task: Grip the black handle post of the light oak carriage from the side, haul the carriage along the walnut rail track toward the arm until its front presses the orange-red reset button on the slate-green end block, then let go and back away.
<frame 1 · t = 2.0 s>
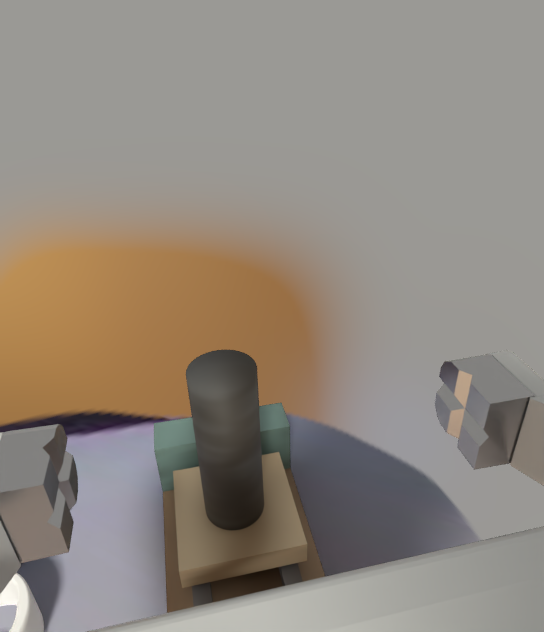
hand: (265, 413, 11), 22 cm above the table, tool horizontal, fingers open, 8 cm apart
carriage: (229, 453, 28), point 9 cm above the table, slide at 13.8 cm
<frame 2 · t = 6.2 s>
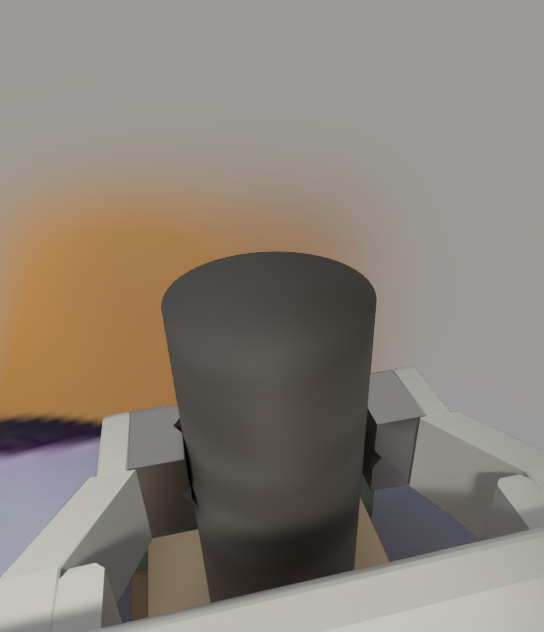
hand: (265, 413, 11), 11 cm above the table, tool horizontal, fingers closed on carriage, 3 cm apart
carriage: (278, 521, 11), point 9 cm above the table, slide at 13.8 cm, touching gripper
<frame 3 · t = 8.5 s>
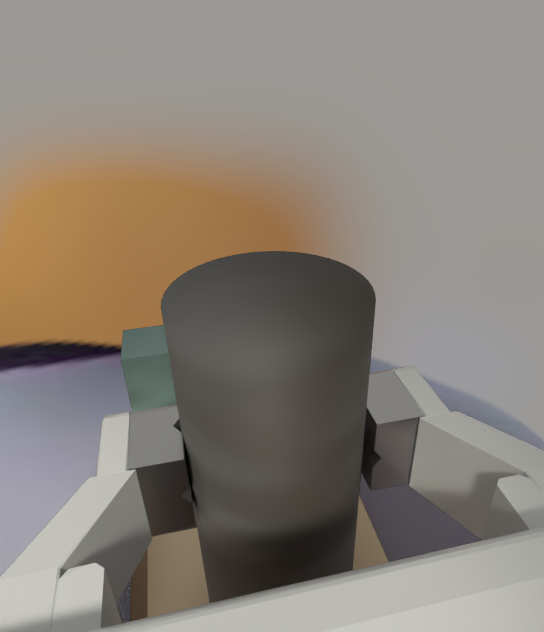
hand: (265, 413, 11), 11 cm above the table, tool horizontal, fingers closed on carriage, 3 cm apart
carriage: (276, 520, 11), point 9 cm above the table, slide at 6.3 cm, touching gripper
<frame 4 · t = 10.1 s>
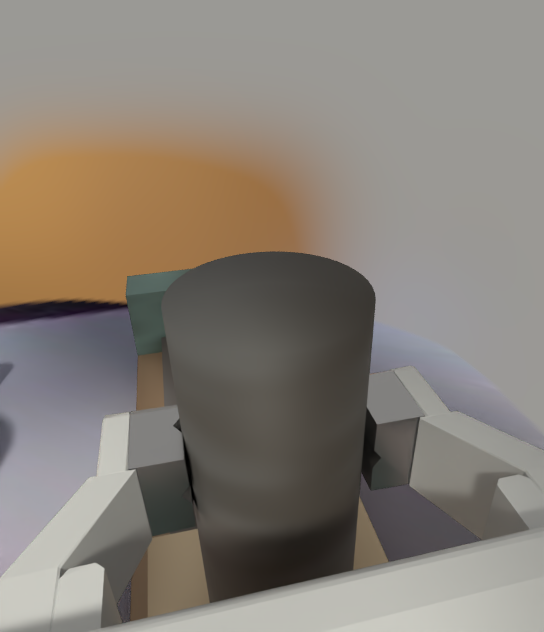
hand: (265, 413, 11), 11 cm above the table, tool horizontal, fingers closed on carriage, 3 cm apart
carriage: (277, 520, 11), point 9 cm above the table, slide at 0.0 cm, touching gripper, reset button
rail track: (247, 519, 21), on the table
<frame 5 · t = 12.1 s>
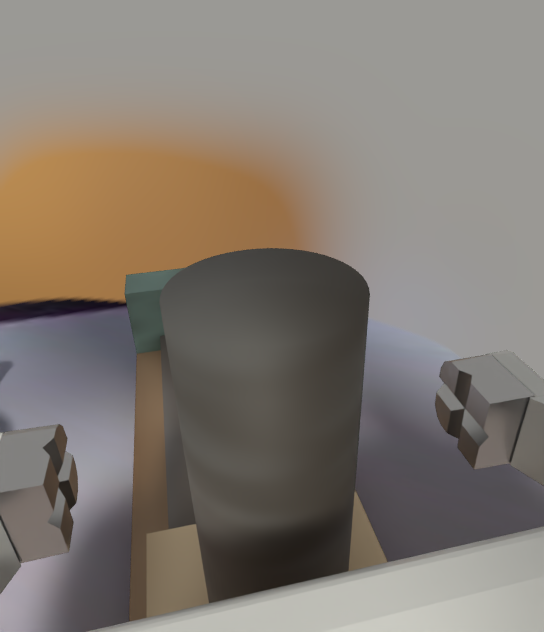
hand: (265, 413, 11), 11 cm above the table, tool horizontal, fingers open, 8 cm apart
carriage: (274, 514, 11), point 9 cm above the table, slide at 0.0 cm
rail track: (245, 515, 22), on the table
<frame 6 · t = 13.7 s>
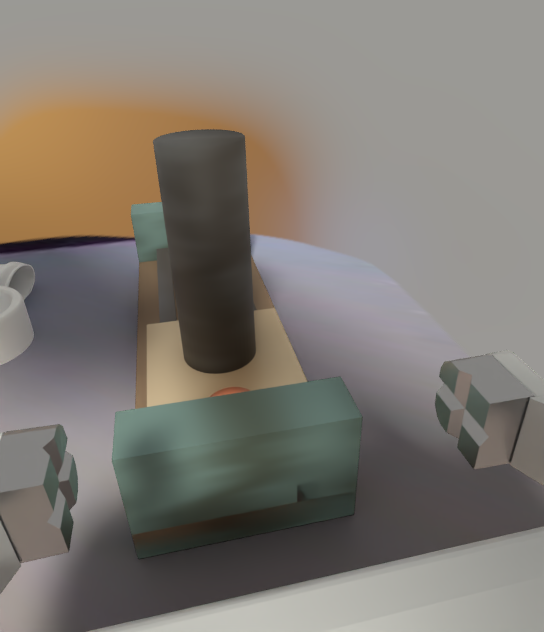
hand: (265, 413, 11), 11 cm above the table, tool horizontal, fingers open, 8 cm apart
carriage: (212, 273, 22), point 9 cm above the table, slide at 0.0 cm
rail track: (212, 348, 32), on the table
reset button: (233, 418, 21), point 4 cm above the table, slide at 0.1 cm
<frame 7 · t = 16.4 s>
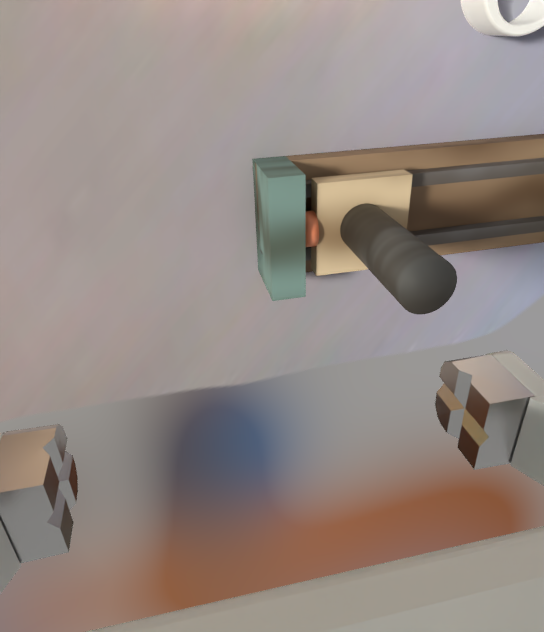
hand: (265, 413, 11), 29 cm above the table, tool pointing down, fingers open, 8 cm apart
carriage: (386, 248, 33), point 9 cm above the table, slide at 0.0 cm
rail track: (421, 200, 42), on the table
reset button: (307, 229, 37), point 4 cm above the table, slide at 0.1 cm
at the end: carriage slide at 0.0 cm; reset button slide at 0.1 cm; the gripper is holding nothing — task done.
